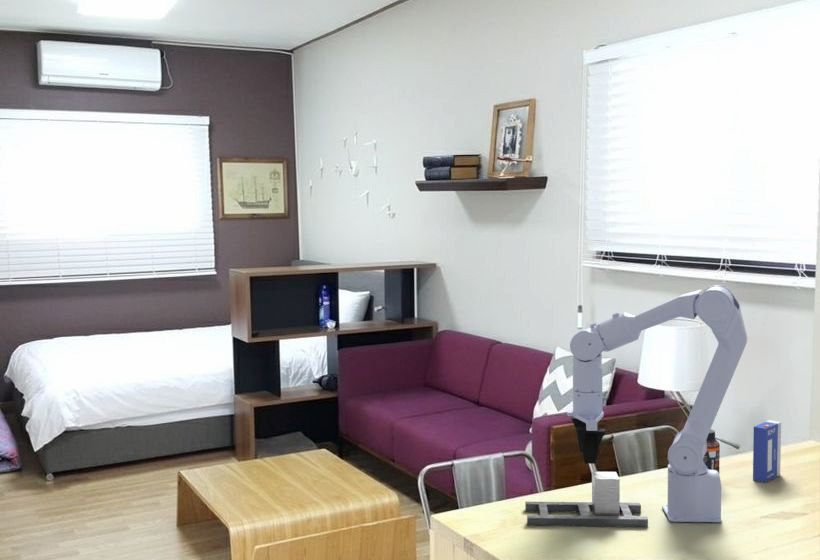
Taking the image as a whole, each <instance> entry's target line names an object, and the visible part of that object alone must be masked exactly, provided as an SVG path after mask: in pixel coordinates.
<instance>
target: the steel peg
mask: <svg viewBox="0 0 820 560" xmlns="http://www.w3.org/2000/svg"><path fill="white" fill-rule="evenodd" d="M619 477H620V476H619V475H618V473H617V471H592V472H591V502H592V513H593V516H621V515H620V503H621V501H620V495H621V494H620V492H621V491H620V486H621V485H620V478H619Z"/></svg>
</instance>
